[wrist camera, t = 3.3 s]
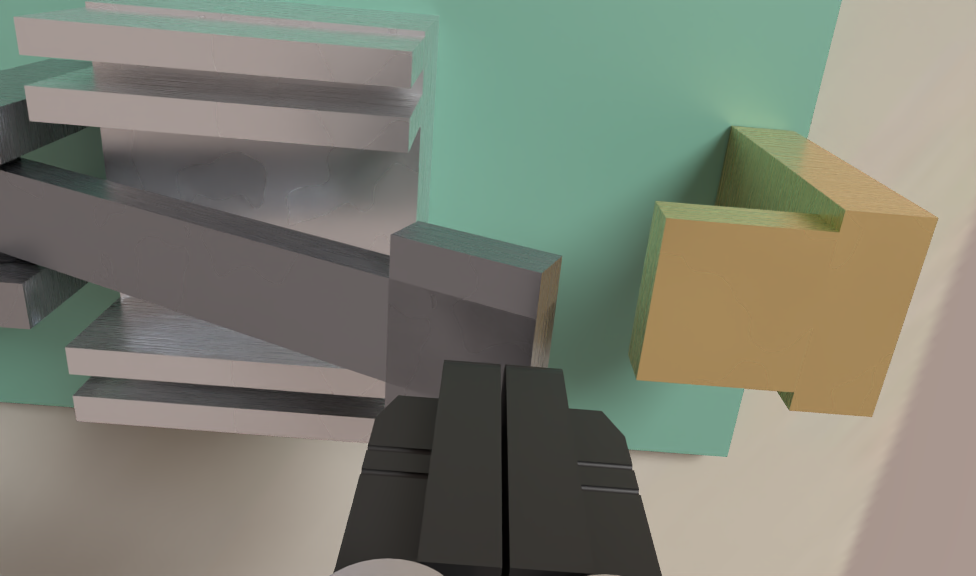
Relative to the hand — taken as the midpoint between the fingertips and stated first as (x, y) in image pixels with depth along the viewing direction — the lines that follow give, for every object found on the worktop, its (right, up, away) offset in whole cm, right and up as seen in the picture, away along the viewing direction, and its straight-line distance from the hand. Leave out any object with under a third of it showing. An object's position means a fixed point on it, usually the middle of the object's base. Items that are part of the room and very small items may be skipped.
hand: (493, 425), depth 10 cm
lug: (+5, +4, +10) cm, 12 cm away
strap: (-5, +2, +4) cm, 7 cm away
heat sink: (-6, +5, +10) cm, 13 cm away
